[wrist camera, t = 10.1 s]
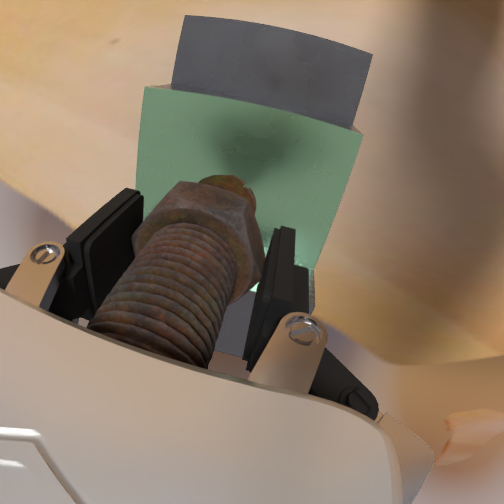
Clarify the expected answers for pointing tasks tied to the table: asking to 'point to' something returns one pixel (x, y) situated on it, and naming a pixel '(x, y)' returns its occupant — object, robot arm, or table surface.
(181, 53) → the stepped stand
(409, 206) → the table surface
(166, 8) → the table surface
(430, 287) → the table surface
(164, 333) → the bolt
